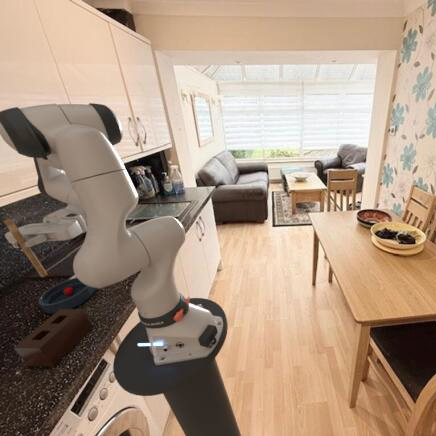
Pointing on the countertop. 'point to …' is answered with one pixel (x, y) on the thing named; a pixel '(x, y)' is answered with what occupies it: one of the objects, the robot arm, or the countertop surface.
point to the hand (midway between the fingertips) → (20, 245)
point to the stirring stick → (27, 250)
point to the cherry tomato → (68, 291)
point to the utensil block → (54, 338)
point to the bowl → (65, 296)
